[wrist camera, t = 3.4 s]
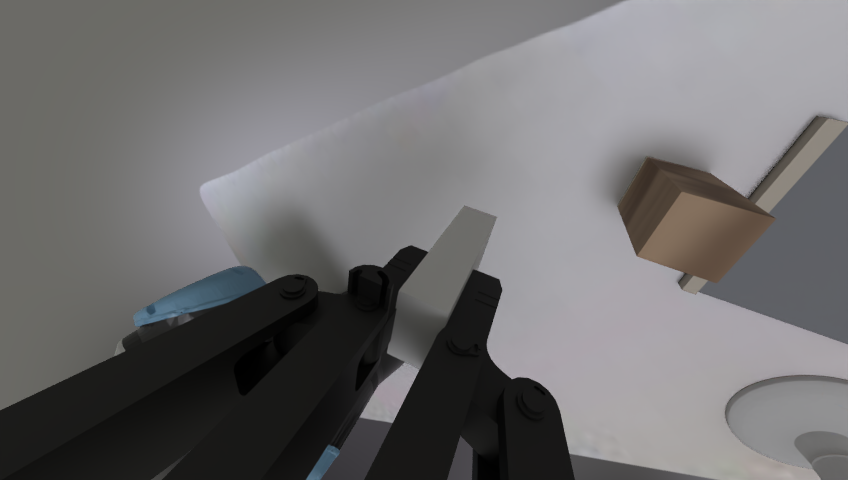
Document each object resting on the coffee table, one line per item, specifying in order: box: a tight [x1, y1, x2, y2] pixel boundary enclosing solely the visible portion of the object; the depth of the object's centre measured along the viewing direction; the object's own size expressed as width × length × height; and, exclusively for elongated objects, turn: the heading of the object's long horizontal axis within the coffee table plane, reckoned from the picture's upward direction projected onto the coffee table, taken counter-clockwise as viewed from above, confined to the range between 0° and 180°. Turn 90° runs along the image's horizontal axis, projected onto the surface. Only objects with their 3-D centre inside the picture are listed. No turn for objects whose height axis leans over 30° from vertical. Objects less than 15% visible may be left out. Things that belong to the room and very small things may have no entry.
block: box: [617, 156, 776, 283], centre depth 24 cm, size 5×5×10 cm
